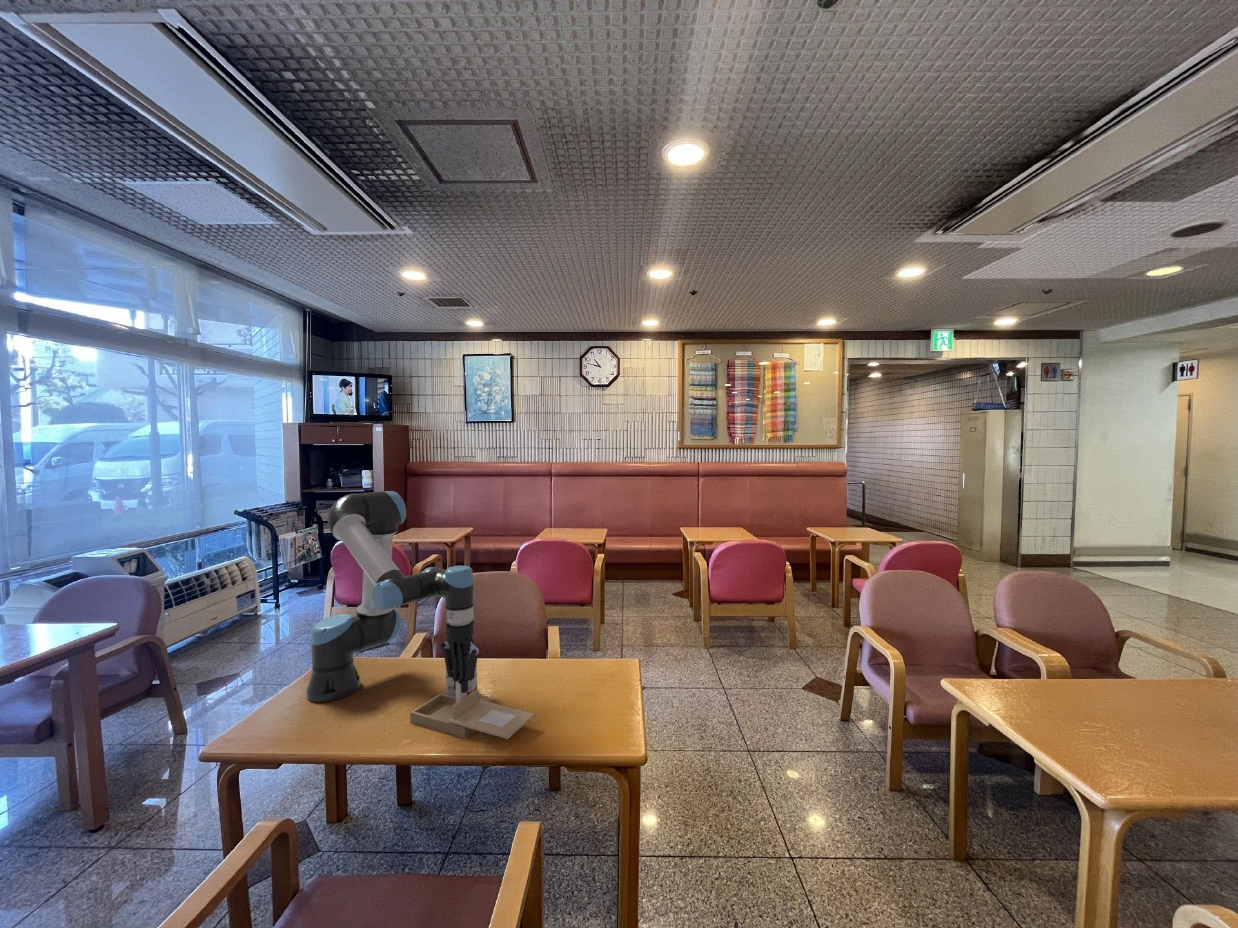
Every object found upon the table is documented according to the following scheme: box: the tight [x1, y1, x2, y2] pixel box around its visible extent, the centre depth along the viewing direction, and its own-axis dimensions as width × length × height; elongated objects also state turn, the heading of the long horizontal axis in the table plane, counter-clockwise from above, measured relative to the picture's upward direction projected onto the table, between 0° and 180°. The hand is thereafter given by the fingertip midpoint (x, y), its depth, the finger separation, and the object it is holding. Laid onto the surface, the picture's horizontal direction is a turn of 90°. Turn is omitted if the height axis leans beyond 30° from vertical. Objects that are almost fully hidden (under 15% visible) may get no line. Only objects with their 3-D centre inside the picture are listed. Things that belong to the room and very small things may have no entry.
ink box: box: [445, 663, 478, 697], centre depth 157 cm, size 9×5×12 cm, turn 84°
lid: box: [448, 689, 535, 740], centre depth 137 cm, size 20×12×4 cm, turn 66°
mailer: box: [409, 693, 477, 740], centre depth 143 cm, size 20×12×3 cm, turn 66°
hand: (461, 702), depth 142 cm, fingers closed
